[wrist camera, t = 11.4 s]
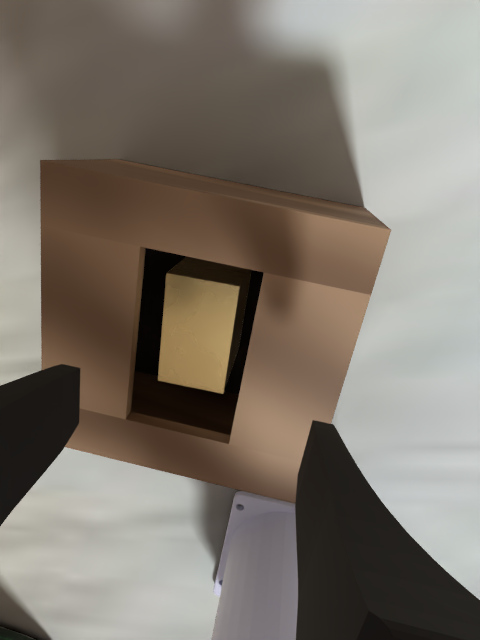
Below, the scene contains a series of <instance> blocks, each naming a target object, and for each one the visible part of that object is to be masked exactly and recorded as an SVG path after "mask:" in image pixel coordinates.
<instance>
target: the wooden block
mask: <svg viewBox="0 0 480 640" xmlns="http://www.w3.org/2000/svg"><path fill="white" fill-rule="evenodd" d="M251 272H252V270H250V269H245V268H240V267H235V266H231V265H226V264H221V263H216V262H212V261H207V260H202V259H197V258H192V257H188V256H186V257H185V258H184V259H183V260H182V261H180V262H179V263H178V264H177V265H176V266H174V267H173V268H172V269H171V270H170V271H168V272H167V273H166V284H165V297H164V309H163V322H162V334H161V346H160V359H159V371H158V381H163V382H167V383H172V384H177V385H182V386H187V387H192V388H197V389H202V390H207V391H212V392H217V393H221V394H224V391H225V388H226V385H227V382H228V379H229V376H230V373H231V370H232V367H233V365H234V362H235V359H236V356H237V353H238V350H239V347H240V341H241V335H242V328H243V322H244V316H245V310H246V303H247V297H248V291H249V284H250V278H251Z"/></svg>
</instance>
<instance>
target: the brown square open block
mask: <svg viewBox="0 0 480 640" xmlns="http://www.w3.org/2000/svg"><path fill="white" fill-rule="evenodd" d="M40 170H41V333H42V370H44V369H47V368H50V367H53V366H56V365H60V364H65V365H69V366H74V367H78V368H80V411H79V424H78V426H77V428H76V429H75V431H74V433H73V434H72V436H71V438H70V439H69V441H68V442H67V444H66V445H65V447H67V448H71V449H75V450H79V451H83V452H88V453H92V454H96V455H100V456H104V457H108V458H112V459H116V460H120V461H124V462H128V463H132V464H136V465H140V466H144V467H148V468H152V469H156V470H160V471H164V472H169V473H173V474H177V475H181V476H185V477H189V478H193V479H197V480H201V481H205V482H209V483H213V484H217V485H221V486H225V487H229V488H233V489H237V490H241V491H246V492H250V493H254V494H258V495H262V496H266V497H270V498H274V499H278V500H282V501H286V502H290V503H294V504H295V502H296V489H297V478H298V472H299V468H300V464H301V461H302V457H303V453H304V450H305V446H306V443H307V439H308V435H309V432H310V428H311V424H312V421H313V420H316V421H320V422H325V423H329V424H331V422H332V418H333V415H334V412H335V409H336V405H337V402H338V399H339V396H340V393H341V389H342V386H343V383H344V380H345V377H346V373H347V370H348V367H349V364H350V360H351V357H352V354H353V351H354V348H355V344H356V341H357V338H358V335H359V332H360V328H361V325H362V322H363V319H364V315H365V312H366V309H367V306H368V303H369V299H370V296H371V293H372V290H373V287H374V283H375V280H376V277H377V274H378V270H379V267H380V264H381V261H382V258H383V254H384V251H385V248H386V245H387V242H388V238H389V235H390V232H391V229H389V228H388V227H387V226H386V225H385V224H383V223H382V222H381V221H380V220H379V219H378V218H376V217H375V216H374V215H373V214H372V213H370V212H369V211H368V210H367V209H366V208H364V207H359V206H354V205H348V204H343V203H338V202H333V201H328V200H323V199H318V198H313V197H308V196H303V195H297V194H292V193H287V192H282V191H277V190H272V189H267V188H262V187H257V186H252V185H246V184H241V183H236V182H231V181H226V180H221V179H216V178H211V177H206V176H201V175H195V174H190V173H185V172H180V171H175V170H170V169H165V168H160V167H155V166H150V165H144V164H139V163H134V162H129V161H124V160H119V159H105V160H40ZM146 248H150V249H154V250H159V251H164V252H169V253H173V254H178V255H183V256H188V257H192V258H197V259H202V260H207V261H212V262H216V263H221V264H226V265H231V266H235V267H240V268H245V269H250V270H254V271H259V272H264V274H263V279H262V284H261V289H260V294H259V299H258V303H257V308H256V313H255V318H254V323H253V328H252V333H251V338H250V343H249V348H248V353H247V357H246V362H245V367H244V372H243V377H242V382H241V387H240V392H239V395H237V394H233V393H229V392H224V394H221V393H217V392H212V391H207V390H202V389H197V388H192V387H187V386H182V385H177V384H172V383H167V382H163V381H158V376H155V375H151V374H146V373H142V372H138V371H135V360H136V349H137V338H138V326H139V315H140V304H141V293H142V282H143V271H144V260H145V249H146Z"/></svg>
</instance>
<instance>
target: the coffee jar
mask: <svg viewBox="0 0 480 640" xmlns="http://www.w3.org/2000/svg"><path fill="white" fill-rule="evenodd" d="M0 640H35V639H33V638H31V637H29V636H26V635H23V634H21V633H18V632H15V631H12V630H8V629H6V628H3V627H0Z"/></svg>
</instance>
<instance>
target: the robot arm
mask: <svg viewBox="0 0 480 640" xmlns="http://www.w3.org/2000/svg"><path fill="white" fill-rule="evenodd" d="M79 411H80V368H78V367H74V366H69V365H65V364H60V365H56V366H53V367H50V368H47V369H44V370H41V371H39V372H36V373H33V374H31V375H28V376H25V377H23V378H20V379H17V380H15V381H12V382H9V383H7V384H4V385H1V386H0V526H1V524H2V523H3V522H4V520H5V519H6V518H7V517H8V515H9V514H10V513H11V511H12V510H13V509H14V508H15V506H16V505H17V504H18V503H19V502H20V501H21V499H22V498H23V497H24V496H25V495H26V493H27V492H28V491H29V490H30V489H31V487H32V486H33V485H34V484H35V483H36V481H37V480H38V479H39V478H40V477H41V476H42V474H43V473H44V472H45V471H46V470H47V468H48V467H49V466H50V465H51V464H52V462H53V461H54V460H55V459H56V457H57V456H58V455H59V454H60V452H61V451H62V450H63V448H64V447H65V445H66V444H67V442H68V441H69V439H70V438H71V436H72V434H73V433H74V431H75V429H76V428H77V426H78V424H79ZM238 504H241V505H243V506H240V505H238ZM213 592H214V594H215V595H217V596H219V597H220V598H219V604H218V609H217V614H216V619H215V624H214V629H213V635H212V640H480V600H479V599H478V598H476V597H475V596H474V595H473V594H471V593H470V592H469V591H468V590H467V589H466V588H465V587H463V586H462V585H461V584H460V583H459V582H458V581H457V580H455V579H454V578H453V577H452V576H451V575H450V574H449V573H448V572H446V571H445V570H444V569H443V568H442V567H441V566H440V565H439V564H438V563H437V562H436V561H435V560H434V559H433V558H432V557H431V556H430V555H429V554H428V553H427V552H426V551H425V550H424V549H423V548H422V547H421V546H420V545H419V544H418V543H417V542H416V541H415V540H414V539H413V538H412V537H411V536H410V535H409V534H408V533H407V532H406V530H405V529H404V528H403V527H402V526H401V525H400V523H399V522H398V521H397V520H396V519H395V518H394V516H393V515H392V514H391V513H390V512H389V510H388V509H387V508H386V507H385V505H384V504H383V503H382V502H381V500H380V499H379V497H378V496H377V495H376V493H375V492H374V491H373V489H372V488H371V486H370V485H369V483H368V482H367V480H366V479H365V477H364V476H363V474H362V473H361V471H360V469H359V468H358V466H357V465H356V463H355V461H354V460H353V458H352V456H351V455H350V453H349V451H348V449H347V448H346V446H345V444H344V442H343V440H342V439H341V437H340V435H339V433H338V431H337V430H336V428H335V426H334V425H333V424H329V423H325V422H320V421H316V420H313V421H312V424H311V428H310V432H309V435H308V439H307V443H306V446H305V450H304V453H303V457H302V461H301V464H300V468H299V472H298V478H297V489H296V502H295V504H293V503H289V502H285V501H281V500H277V499H273V498H269V497H265V496H261V495H256V494H252V493H248V492H244V491H238V492H237V493H235V495H234V499H233V504H232V508H231V513H230V517H229V522H228V526H227V531H226V535H225V540H224V544H223V549H222V553H221V558H220V562H219V567H218V571H217V576H216V580H215V585H214V589H213Z"/></svg>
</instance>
